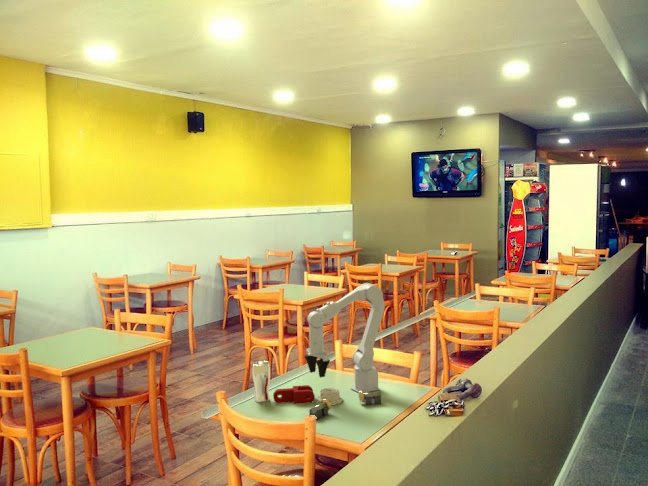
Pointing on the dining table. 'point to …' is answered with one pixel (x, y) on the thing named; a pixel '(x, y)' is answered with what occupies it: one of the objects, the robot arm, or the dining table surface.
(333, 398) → the mechanical component
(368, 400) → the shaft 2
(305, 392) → the mechanical linkage
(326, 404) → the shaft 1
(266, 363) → the beer glass
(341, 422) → the dining table surface
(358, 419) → the dining table surface
